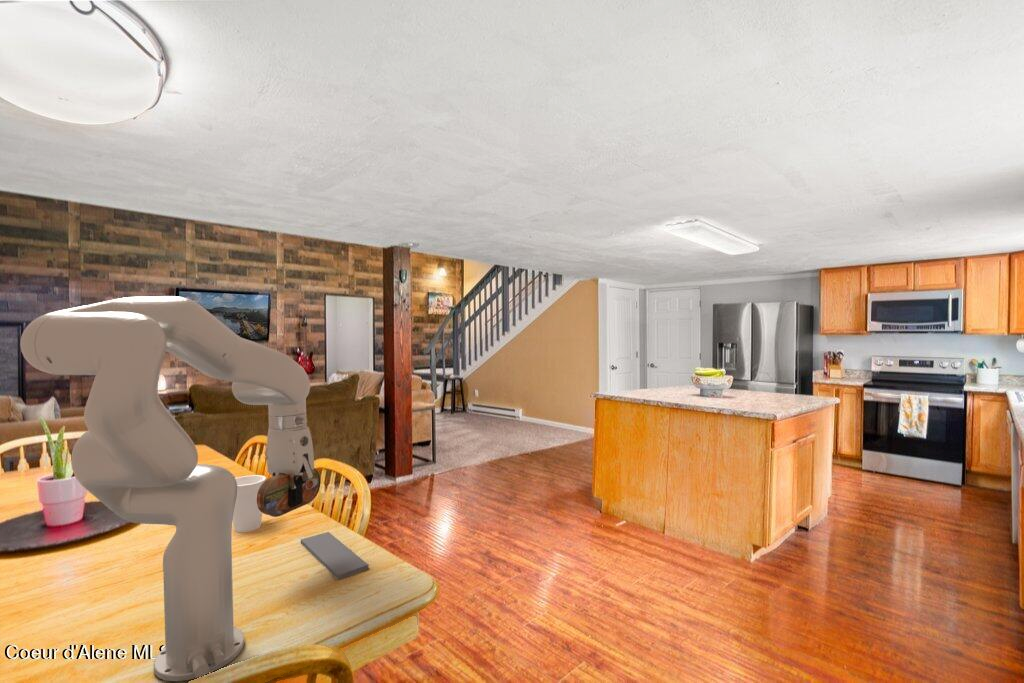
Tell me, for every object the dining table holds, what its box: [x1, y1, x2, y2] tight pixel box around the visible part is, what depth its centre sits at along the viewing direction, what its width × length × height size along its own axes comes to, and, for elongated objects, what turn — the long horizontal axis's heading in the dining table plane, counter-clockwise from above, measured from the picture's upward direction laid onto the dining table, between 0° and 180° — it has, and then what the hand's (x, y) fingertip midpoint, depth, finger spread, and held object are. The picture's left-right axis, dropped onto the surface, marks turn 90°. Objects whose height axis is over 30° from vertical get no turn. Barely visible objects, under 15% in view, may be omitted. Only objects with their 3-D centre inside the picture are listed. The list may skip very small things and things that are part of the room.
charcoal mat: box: [300, 531, 370, 580], centre depth 117 cm, size 24×7×1 cm, turn 41°
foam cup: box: [232, 474, 267, 533], centre depth 133 cm, size 10×9×13 cm
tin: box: [257, 467, 322, 518], centre depth 108 cm, size 15×3×8 cm, turn 154°
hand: (290, 503), depth 108 cm, fingers closed on tin, 2 cm apart
